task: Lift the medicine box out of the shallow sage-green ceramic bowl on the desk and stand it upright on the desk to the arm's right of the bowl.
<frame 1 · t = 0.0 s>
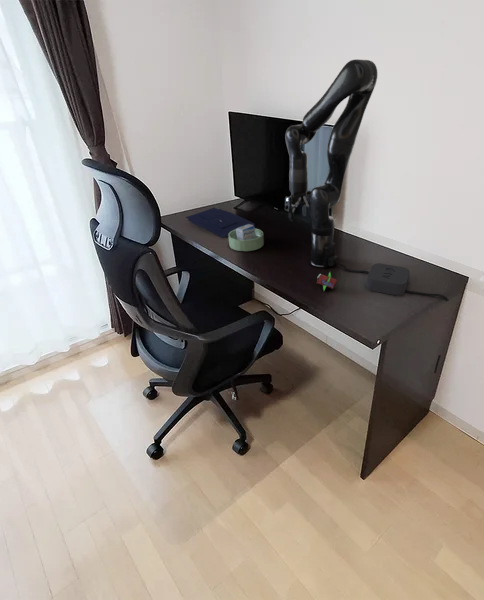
hand: (298, 218, 157), 17 cm above the table, tool pointing down, fingers open, 8 cm apart
folded navy cloth: (220, 225, 197), on the table
bowl: (246, 244, 175), on the table
streaming box: (387, 285, 143), on the table
geometric puzzle: (326, 289, 140), on the table
medicine box: (246, 244, 175), resting on bowl
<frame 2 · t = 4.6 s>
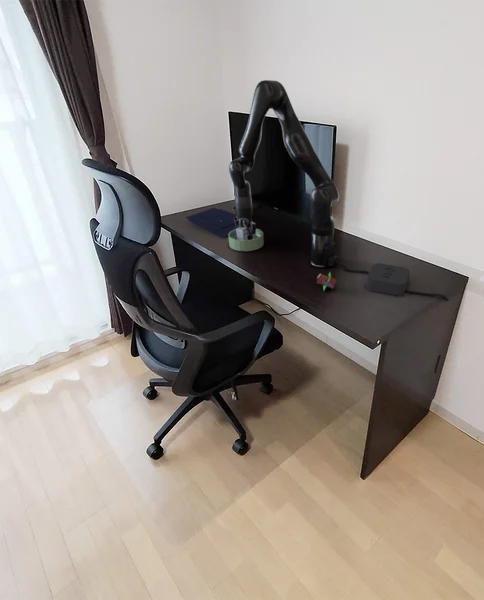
hand: (246, 240, 174), 2 cm above the table, tool pointing down, fingers closed on medicine box, 4 cm apart
medicine box: (246, 244, 175), resting on bowl, touching gripper
everything else where it was.
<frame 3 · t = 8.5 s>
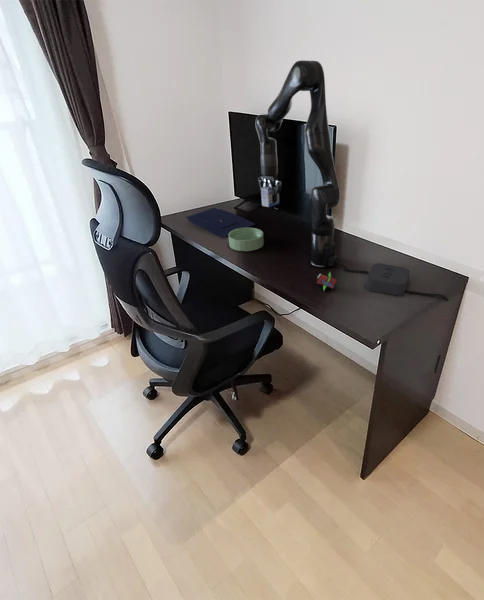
hand: (270, 201, 174), 18 cm above the table, tool pointing down, fingers closed on medicine box, 4 cm apart
medicine box: (270, 205, 175), point 16 cm above the table, touching gripper
everything else where it was.
when the fingers open (2 cm above the table, at t = 12.5 s): medicine box stays where it is, on the table.
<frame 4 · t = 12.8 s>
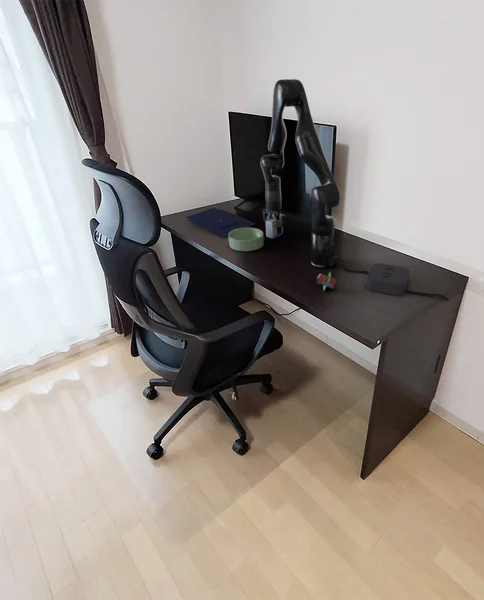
hand: (274, 231, 184), 2 cm above the table, tool pointing down, fingers open, 6 cm apart
medicine box: (274, 236, 185), on the table
everything else where it was.
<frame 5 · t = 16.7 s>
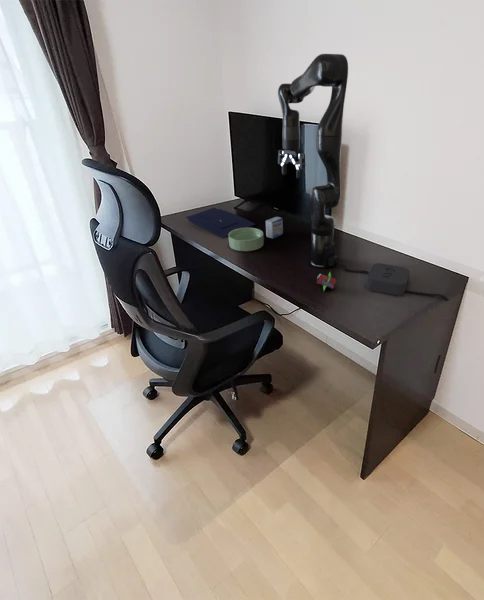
hand: (291, 176, 166), 30 cm above the table, tool pointing down, fingers open, 8 cm apart
nothing on the table moved.
at the end: medicine box inside the target area (0.0 cm from its centre), on the table; medicine box tilted 0°; the gripper is holding nothing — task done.
